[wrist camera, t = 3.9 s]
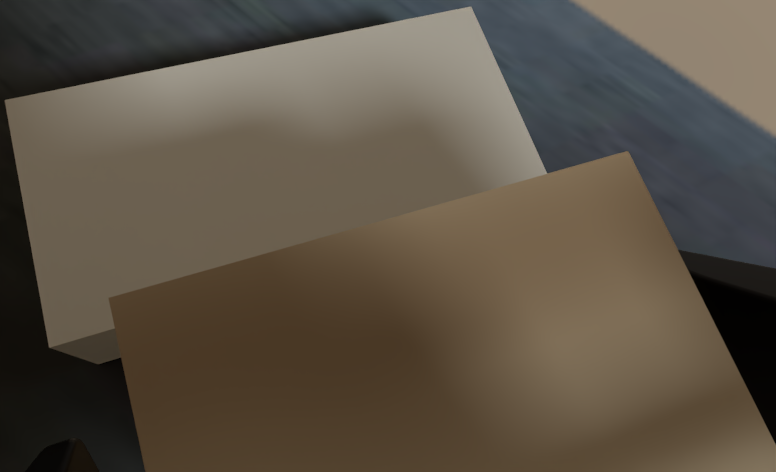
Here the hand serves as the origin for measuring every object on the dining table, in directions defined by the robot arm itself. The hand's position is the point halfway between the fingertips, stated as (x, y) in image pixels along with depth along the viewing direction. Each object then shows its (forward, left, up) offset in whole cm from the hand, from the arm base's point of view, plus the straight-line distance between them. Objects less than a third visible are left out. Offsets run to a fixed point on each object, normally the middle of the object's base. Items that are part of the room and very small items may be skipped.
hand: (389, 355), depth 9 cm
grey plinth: (+3, +5, -7) cm, 9 cm away
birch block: (-1, -1, -7) cm, 7 cm away
